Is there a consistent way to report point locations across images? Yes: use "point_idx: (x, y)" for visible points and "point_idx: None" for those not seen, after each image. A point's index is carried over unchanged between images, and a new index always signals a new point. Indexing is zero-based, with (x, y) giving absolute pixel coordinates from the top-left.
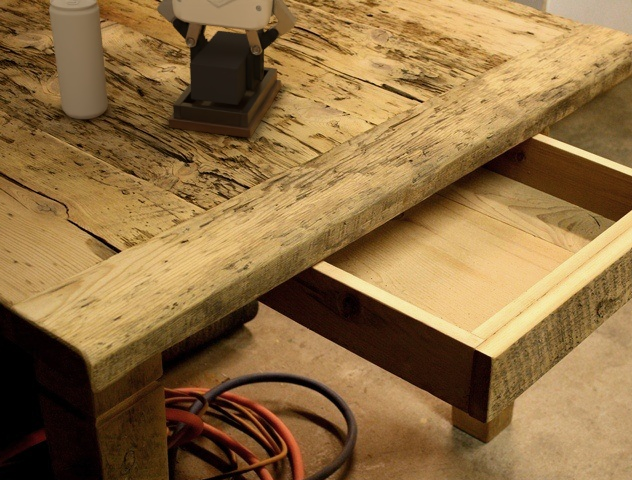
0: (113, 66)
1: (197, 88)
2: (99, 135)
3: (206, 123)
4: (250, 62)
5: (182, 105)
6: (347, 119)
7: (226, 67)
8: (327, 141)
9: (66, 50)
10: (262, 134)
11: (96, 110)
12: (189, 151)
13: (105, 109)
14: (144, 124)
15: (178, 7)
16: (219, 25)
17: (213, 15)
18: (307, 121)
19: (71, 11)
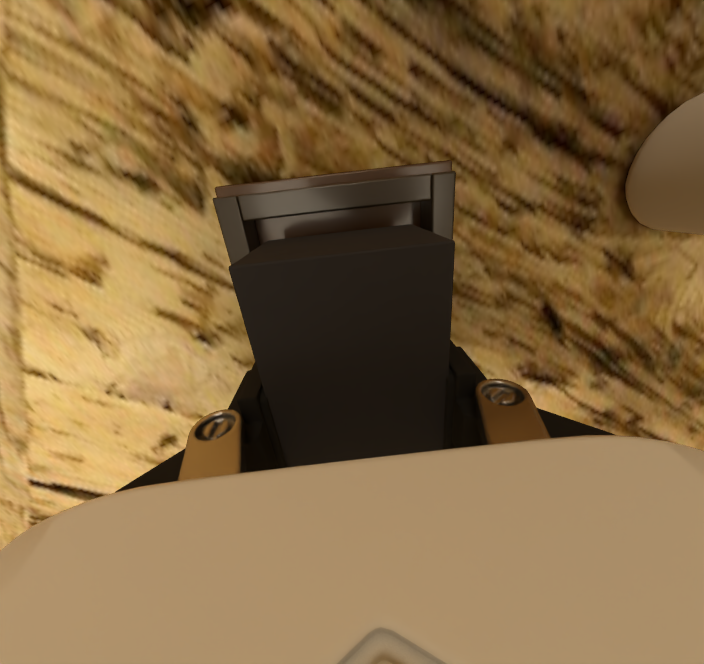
0: (626, 403)
1: (398, 230)
2: (623, 17)
3: (341, 174)
4: (249, 381)
5: (424, 176)
6: (95, 373)
7: (279, 263)
8: (52, 253)
9: None
10: (210, 226)
11: (664, 129)
12: (336, 18)
13: (632, 170)
14: (509, 156)
15: None
16: (360, 460)
17: (418, 523)
18: (161, 332)
19: None
